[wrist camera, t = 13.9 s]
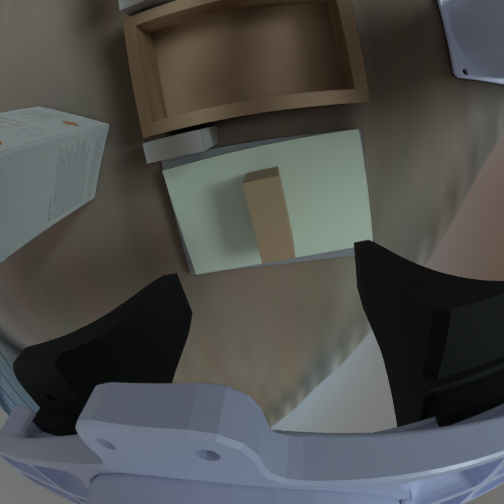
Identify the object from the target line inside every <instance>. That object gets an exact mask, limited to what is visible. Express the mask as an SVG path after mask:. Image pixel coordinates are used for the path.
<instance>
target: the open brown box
mask: <svg viewBox="0 0 504 504" xmlns="http://www.w3.org/2000/svg"><path fill="white" fill-rule="evenodd" d="M118 1H119V10H120V11H121V12H123V13H125V14H127V15H129V16H130V17H128V18H125V19H123V28H124V35H125V42H126V49H127V56H128V62H129V68H130V74H131V80H132V85H133V91H134V96H135V101H136V106H137V112H138V116H139V121H140V126H141V131H142V136H143V138H146V137H150V136H154V135H158V134H162V133H166V132H170V131H174V130H178V129H182V128H186V127H191V126H195V125H200V124H204V123H209V122H214V121H219V120H224V119H229V118H235V117H240V116H246V115H252V114H258V113H265V112H272V111H279V110H287V109H295V108H304V107H314V106H324V105H337V104H352V103H367V102H370V96H369V89H368V83H367V76H366V70H365V65H364V59H363V54H362V49H361V44H360V39H359V34H358V30H357V25H356V21H355V17H354V13H353V9H352V5H351V1H350V0H118ZM218 143H220V142H219V137H218V132H217V127H216V126H211V127H206V128H201V129H197V130H192V131H188V132H183V133H179V134H175V135H171V136H167V137H163V138H160V139H156V140H153V141H150V142H146V143H143V148H144V153H145V157H146V161H147V164H149V163H153V162H157V161H161V160H165V159H170V158H174V157H179V156H183V155H188V154H193V153H198V152H203V151H205V150H207V149H209V148H211V147H212V146H214V145H216V144H218Z"/></svg>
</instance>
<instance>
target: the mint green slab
mask: <svg viewBox="0 0 504 504" xmlns="http://www.w3.org/2000/svg"><path fill="white" fill-rule="evenodd" d="M162 172H163V175H164V178H165V182H166V185H167V188H168V191H169V195H170V198H171V201H172V204H173V207H174V210H175V213H176V217H177V220H178V223H179V226H180V229H181V232H182V235H183V238H184V241H185V244H186V247H187V250H188V252H189V255H190V258H191V261H192V264H193V267H194V270H195V273H196V275H197V274H203V273H209V272H215V271H221V270H227V269H233V268H239V267H245V266H250V265H256V264H263V263H269V262H275V261H281V260H286V259H292V258H297V257H302V256H308V255H314V254H319V253H325V252H330V251H336V250H342V249H347V248H353V247H354V242H359V241H364V240H371V241H373V239H372V226H371V215H370V205H369V196H368V188H367V180H366V172H365V165H364V158H363V152H362V146H361V139H360V134H359V129H357V128H354V129H347V130H340V131H333V132H327V133H321V134H315V135H309V136H303V137H297V138H292V139H287V140H282V141H277V142H272V143H267V144H262V145H257V146H253V147H248V148H244V149H239V150H235V151H231V152H227V153H223V154H219V155H215V156H211V157H207V158H203V159H199V160H195V161H192V162H188V163H184V164H181V165H177V166H174V167H170V168H167V169H165V170H163V171H162Z"/></svg>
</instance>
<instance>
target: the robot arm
mask: <svg viewBox="0 0 504 504" xmlns="http://www.w3.org/2000/svg"><path fill="white" fill-rule="evenodd" d="M437 2H438V6H439V9H440V13H441V17H442V20H443V25H444V29H445V33H446V38H447V42H448V47H449V52H450V58H451V63H452V69H453V73H454V75H455V76H456V77H458V78H463V79H471V80H478V81H485V82H491V83H497V84H503V85H504V0H437ZM463 69H464V70H465V72H466V74H465V75H464V73H463ZM354 251H355V262H356V275H357V288H358V291H359V295H360V299H361V302H362V306H363V309H364V311H365V313H366V316H367V318H368V321H369V323H370V325H371V328H372V330H373V332H374V335H375V337H376V340H377V342H378V345H379V347H380V350H381V353H382V356H383V359H384V363H385V367H386V371H387V375H388V379H389V384H390V389H391V393H392V398H393V403H394V409H395V414H396V421H397V427H396V428H392V429H388V430H384V431H379V432H374V433H312V432H294V431H282V430H272V429H271V428H270V427H269V425H268V423H267V421H266V418H265V416H264V413H263V410H262V409H261V408H260V407H259V406H258V405H257V404H256V403H255V401H254V400H253V399H252V398H251V397H250V396H249V395H247V394H245V393H242V392H240V391H238V390H236V389H233V388H231V387H229V386H227V385H219V384H210V383H172V381H173V378H174V374H175V371H176V368H177V365H178V363H179V360H180V357H181V354H182V351H183V348H184V345H185V343H186V340H187V337H188V334H189V329H190V324H191V318H192V311H191V308H190V306H189V303H188V301H187V298H186V296H185V293H184V291H183V288H182V286H181V283H180V280H179V278H178V275H177V273H175V274H169V275H164V276H162V277H160V278H158V279H156V280H155V281H153V282H152V283H150V284H149V285H148V286H146V287H145V288H143V289H142V290H141V291H139V292H138V293H137V294H135V295H134V296H133V297H131V298H130V299H128V300H127V301H126V302H124V303H123V304H121V305H120V306H118V307H117V308H116V309H114V310H113V311H111V312H110V313H108V314H106V315H105V316H103V317H101V318H100V319H98V320H96V321H94V322H93V323H91V324H89V325H87V326H84V327H82V328H80V329H78V330H76V331H74V332H72V333H69V334H67V335H64V336H62V337H59V338H56V339H54V340H51V341H47V342H44V343H40V344H37V345H33V346H29V347H26V348H25V349H24V350H23V351H22V352H21V354H20V355H19V356H18V358H17V359H16V360H15V361H14V363H13V369H14V373H15V375H16V377H17V379H18V381H19V382H20V384H21V385H22V386H23V388H24V389H25V390H26V391H27V393H28V394H29V395H30V396H31V398H32V399H33V400H34V401H35V402H36V403H37V405H38V406H39V407H40V409H39V411H38V412H37V413H36V412H35V411H33V410H31V409H29V408H25V407H22V406H18V405H16V406H15V408H14V409H13V411H12V412H11V414H10V416H9V417H8V419H7V420H6V422H5V424H4V425H3V427H2V429H1V430H0V456H1V457H2V458H3V459H4V460H5V461H6V462H8V463H9V464H10V465H11V466H12V467H14V468H15V469H16V470H17V471H18V472H20V473H21V474H22V475H23V476H25V477H26V478H28V479H29V480H30V481H31V482H33V483H35V484H37V485H39V486H41V487H43V488H45V489H47V490H49V491H51V492H53V493H55V494H57V495H59V496H61V497H63V498H66V499H68V500H70V501H72V502H74V503H76V504H464V503H466V502H468V501H470V500H472V499H474V498H476V497H478V496H480V495H482V494H484V493H486V492H488V491H490V490H492V489H493V488H495V487H497V486H499V485H501V484H502V483H504V281H485V280H476V279H468V278H463V277H457V276H453V275H449V274H445V273H441V272H437V271H434V270H431V269H429V268H426V267H423V266H420V265H418V264H416V263H413V262H411V261H409V260H407V259H405V258H403V257H401V256H399V255H397V254H395V253H393V252H391V251H389V250H387V249H386V248H384V247H382V246H380V245H378V244H377V243H375V242H373V241H371V240H364V241H359V242H354Z"/></svg>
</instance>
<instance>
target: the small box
mask: <svg viewBox="0 0 504 504" xmlns="http://www.w3.org/2000/svg"><path fill="white" fill-rule="evenodd" d="M108 130H109V124H107V123H104V122H100V121H97V120H93V119H90V118H86V117H82V116H78V115H74V114H70V113H66V112H62V111H58V110H54V109H49V108H44V107H33V108H26V109H19V110H14V111H9V112H3V113H0V263H2V262H3V261H4V260H6V259H7V258H8V257H10V256H11V255H12V254H13V253H15V252H16V251H17V250H18V249H20V248H21V247H23V246H24V245H25V244H27V243H28V242H29V241H31V240H32V239H34V238H35V237H36V236H38V235H39V234H41V233H42V232H44V231H45V230H47V229H48V228H49V227H51V226H52V225H54V224H55V223H57V222H58V221H60V220H61V219H63V218H64V217H66V216H67V215H69V214H70V213H72V212H73V211H75V210H77V209H78V208H80V207H81V206H83V205H85V204H86V203H88V202H89V201H91V200H93V199H94V197H95V193H96V187H97V181H98V176H99V170H100V165H101V161H102V156H103V152H104V147H105V143H106V139H107V134H108Z"/></svg>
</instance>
